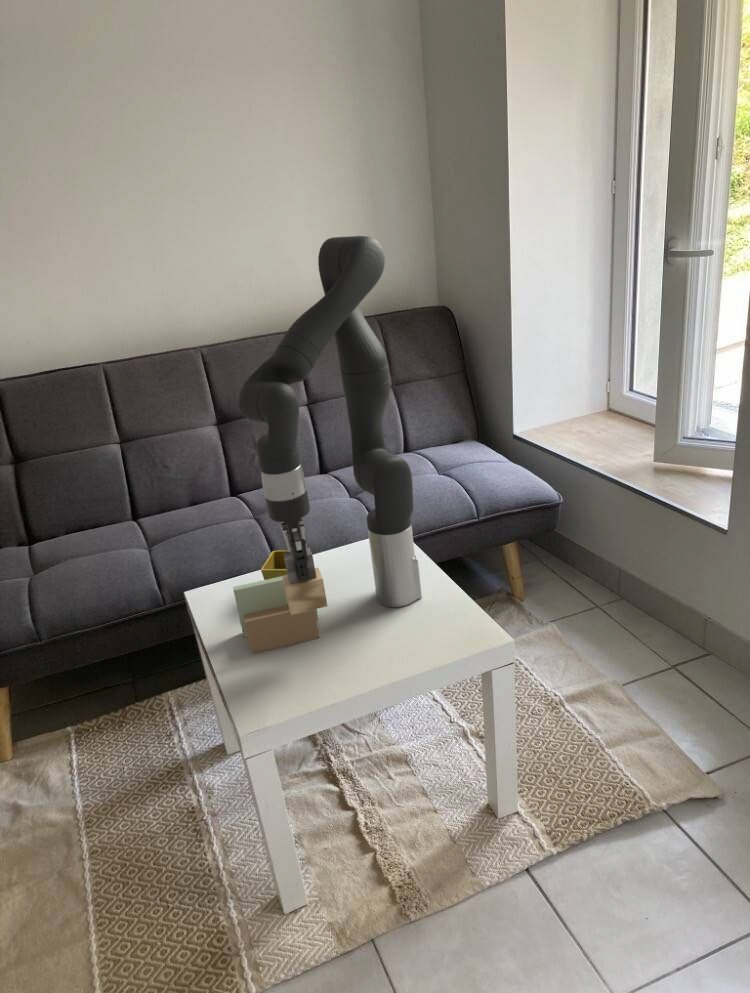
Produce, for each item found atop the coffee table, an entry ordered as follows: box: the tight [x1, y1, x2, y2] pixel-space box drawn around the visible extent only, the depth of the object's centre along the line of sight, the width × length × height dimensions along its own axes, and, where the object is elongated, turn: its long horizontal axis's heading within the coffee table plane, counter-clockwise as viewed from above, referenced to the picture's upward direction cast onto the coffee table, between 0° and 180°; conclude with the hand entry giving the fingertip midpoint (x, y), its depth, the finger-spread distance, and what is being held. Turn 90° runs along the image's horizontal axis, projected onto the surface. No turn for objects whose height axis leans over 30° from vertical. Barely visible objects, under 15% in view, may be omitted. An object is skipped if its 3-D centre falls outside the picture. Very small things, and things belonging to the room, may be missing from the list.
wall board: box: [232, 576, 320, 654], centre depth 161 cm, size 16×9×11 cm, turn 104°
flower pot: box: [260, 550, 289, 580], centre depth 176 cm, size 9×9×9 cm
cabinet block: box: [282, 547, 329, 615], centre depth 147 cm, size 7×5×11 cm, turn 104°
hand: (301, 573), depth 147 cm, fingers closed on cabinet block, 2 cm apart
